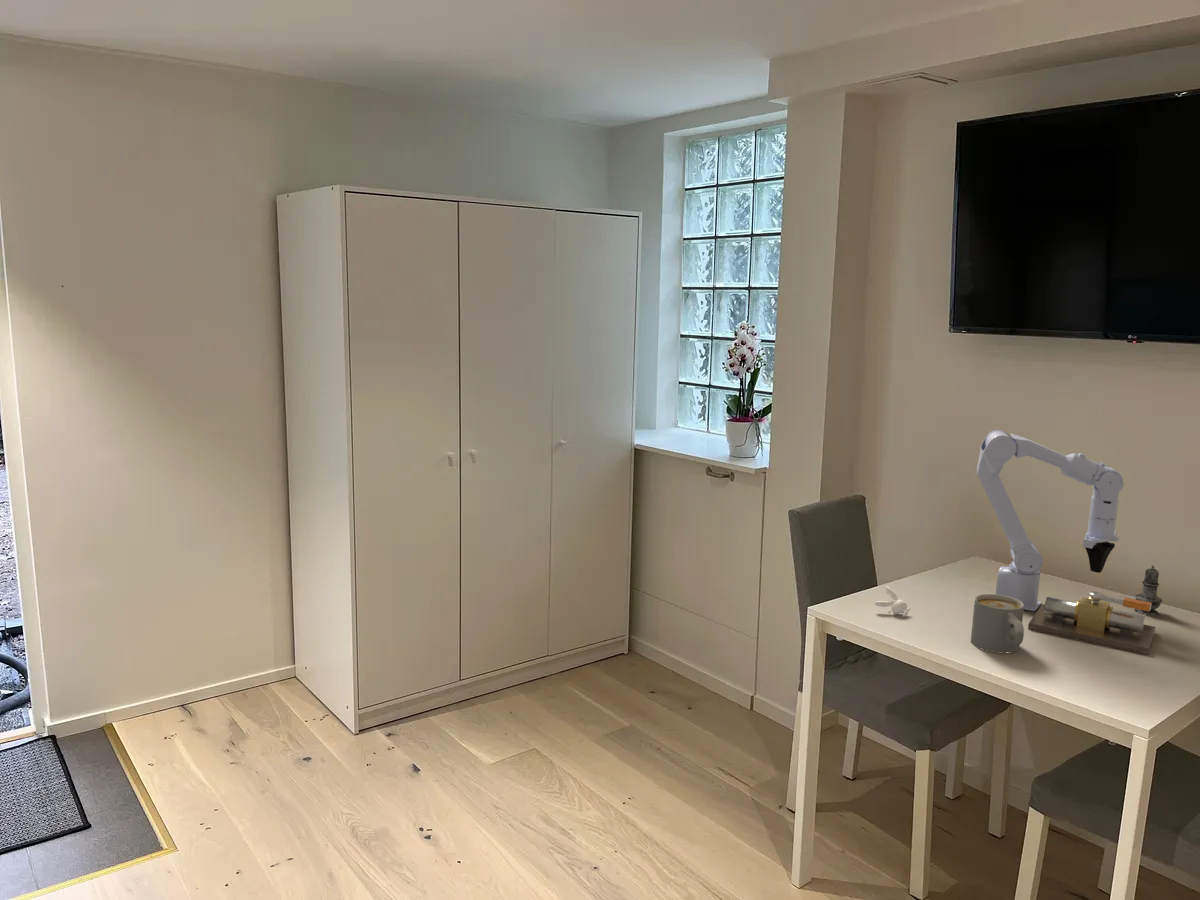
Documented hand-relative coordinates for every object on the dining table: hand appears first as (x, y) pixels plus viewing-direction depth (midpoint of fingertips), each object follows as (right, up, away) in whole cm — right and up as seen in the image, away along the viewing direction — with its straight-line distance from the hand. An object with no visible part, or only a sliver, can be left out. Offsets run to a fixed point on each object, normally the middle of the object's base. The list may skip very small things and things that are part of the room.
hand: (1096, 571), depth 223 cm
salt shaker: (+14, -11, +3) cm, 18 cm away
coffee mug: (-33, -14, -21) cm, 42 cm away
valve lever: (-3, -5, -15) cm, 16 cm away
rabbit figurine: (-50, -10, -1) cm, 51 cm away
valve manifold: (-7, -12, -10) cm, 18 cm away
